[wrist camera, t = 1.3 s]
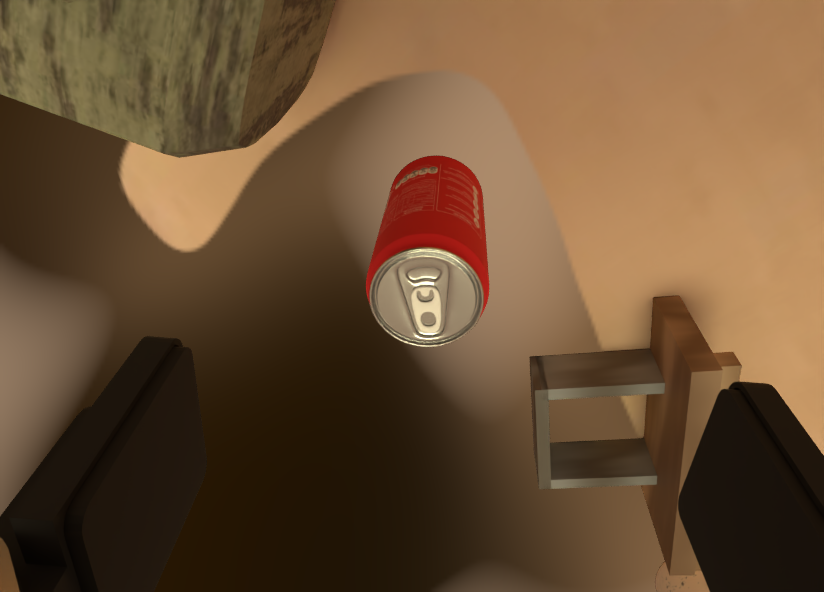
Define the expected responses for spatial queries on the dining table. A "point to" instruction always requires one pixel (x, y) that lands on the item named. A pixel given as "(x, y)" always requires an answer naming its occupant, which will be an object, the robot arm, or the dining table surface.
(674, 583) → the teacup with lid
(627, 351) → the can rack
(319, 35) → the tabletop clock
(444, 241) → the beverage can
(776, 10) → the dining table surface
